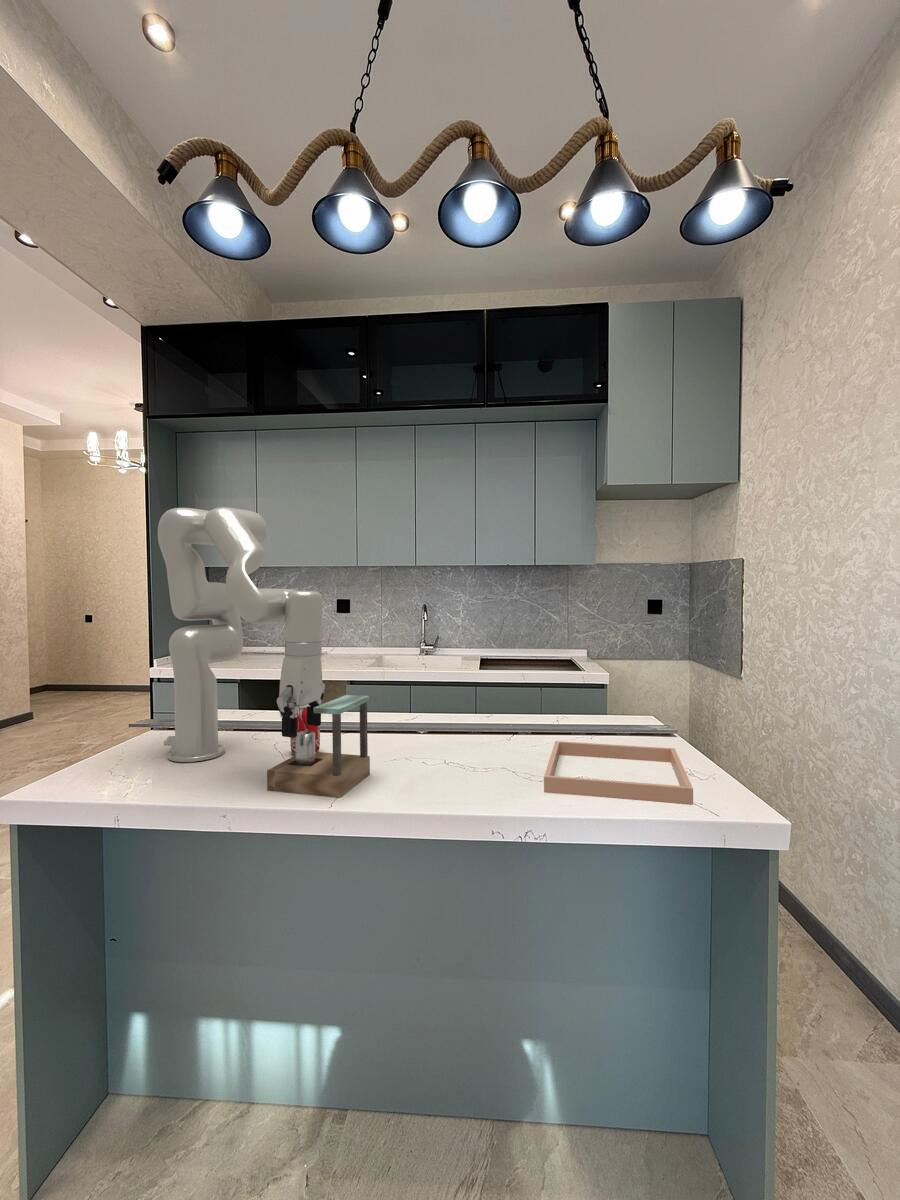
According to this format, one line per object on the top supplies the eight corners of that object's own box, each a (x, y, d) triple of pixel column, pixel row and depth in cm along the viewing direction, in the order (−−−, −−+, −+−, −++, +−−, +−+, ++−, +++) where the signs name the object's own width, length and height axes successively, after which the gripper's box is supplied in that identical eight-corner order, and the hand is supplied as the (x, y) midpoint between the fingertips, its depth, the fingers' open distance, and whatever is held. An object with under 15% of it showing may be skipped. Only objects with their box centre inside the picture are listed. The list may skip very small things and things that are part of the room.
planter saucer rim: (544, 792, 108) (543, 776, 108) (555, 753, 134) (555, 741, 134) (693, 805, 101) (693, 788, 101) (674, 761, 127) (674, 748, 127)
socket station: (267, 790, 110) (266, 705, 110) (303, 768, 124) (303, 693, 124) (340, 797, 106) (339, 709, 106) (369, 774, 120) (369, 696, 119)
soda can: (315, 757, 132) (315, 707, 132) (286, 757, 133) (286, 707, 133) (323, 749, 140) (322, 701, 139) (295, 749, 140) (294, 701, 140)
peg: (292, 783, 115) (291, 734, 114) (302, 776, 118) (301, 730, 118) (309, 784, 114) (308, 736, 113) (319, 778, 117) (318, 731, 117)
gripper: (308, 644, 125) (307, 719, 126) (263, 653, 108) (261, 740, 109) (338, 646, 123) (337, 722, 124) (297, 655, 106) (295, 743, 107)
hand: (302, 730), depth 116 cm, fingers open, 9 cm apart
